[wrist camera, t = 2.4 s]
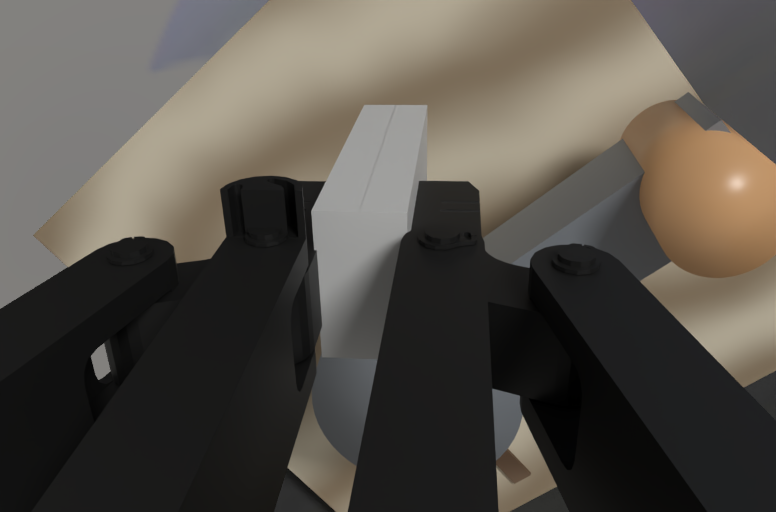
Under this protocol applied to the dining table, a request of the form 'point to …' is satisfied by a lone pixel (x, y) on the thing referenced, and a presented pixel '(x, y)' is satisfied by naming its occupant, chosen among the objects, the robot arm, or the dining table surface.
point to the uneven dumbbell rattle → (614, 233)
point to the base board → (444, 151)
